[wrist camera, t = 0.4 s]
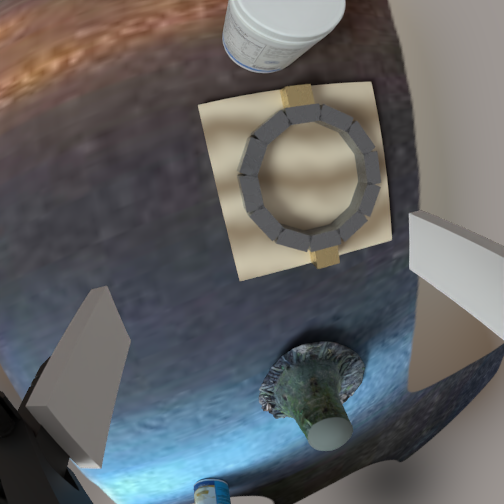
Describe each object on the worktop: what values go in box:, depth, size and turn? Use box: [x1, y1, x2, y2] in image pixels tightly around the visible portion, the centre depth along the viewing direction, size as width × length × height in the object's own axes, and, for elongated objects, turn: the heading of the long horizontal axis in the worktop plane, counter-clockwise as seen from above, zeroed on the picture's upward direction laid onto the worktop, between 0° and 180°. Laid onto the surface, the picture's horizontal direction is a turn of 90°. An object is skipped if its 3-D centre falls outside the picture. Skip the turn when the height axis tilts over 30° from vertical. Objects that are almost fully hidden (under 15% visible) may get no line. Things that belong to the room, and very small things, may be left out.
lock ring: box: [237, 84, 381, 269], centre depth 35 cm, size 22×17×2 cm
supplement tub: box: [223, 0, 346, 73], centre depth 24 cm, size 10×10×15 cm
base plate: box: [198, 82, 392, 281], centre depth 37 cm, size 22×22×1 cm
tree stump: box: [259, 341, 365, 451], centre depth 43 cm, size 18×20×18 cm
